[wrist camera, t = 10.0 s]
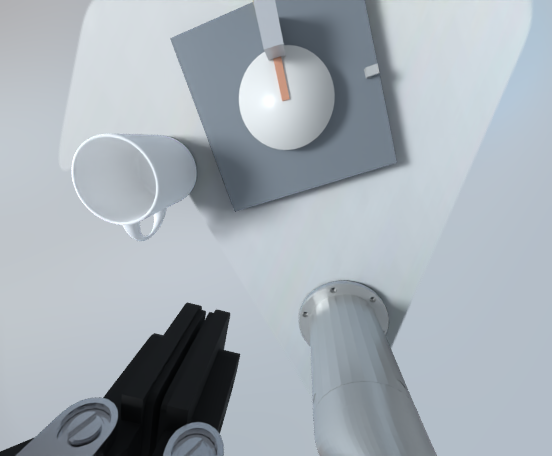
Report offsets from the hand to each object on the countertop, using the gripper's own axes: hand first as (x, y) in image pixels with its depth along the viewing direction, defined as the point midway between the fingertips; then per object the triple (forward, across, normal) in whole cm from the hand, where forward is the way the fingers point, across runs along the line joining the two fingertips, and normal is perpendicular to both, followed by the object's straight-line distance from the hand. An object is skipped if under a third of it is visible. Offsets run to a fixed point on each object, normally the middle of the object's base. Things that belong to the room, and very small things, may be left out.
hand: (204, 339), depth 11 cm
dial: (+25, +1, -13) cm, 28 cm away
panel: (+27, +1, -11) cm, 29 cm away
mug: (+27, +14, +1) cm, 31 cm away
